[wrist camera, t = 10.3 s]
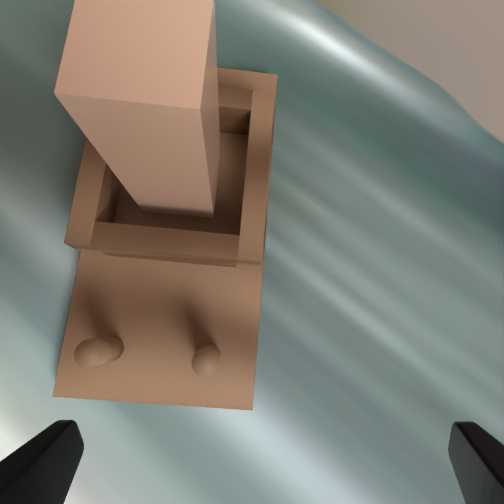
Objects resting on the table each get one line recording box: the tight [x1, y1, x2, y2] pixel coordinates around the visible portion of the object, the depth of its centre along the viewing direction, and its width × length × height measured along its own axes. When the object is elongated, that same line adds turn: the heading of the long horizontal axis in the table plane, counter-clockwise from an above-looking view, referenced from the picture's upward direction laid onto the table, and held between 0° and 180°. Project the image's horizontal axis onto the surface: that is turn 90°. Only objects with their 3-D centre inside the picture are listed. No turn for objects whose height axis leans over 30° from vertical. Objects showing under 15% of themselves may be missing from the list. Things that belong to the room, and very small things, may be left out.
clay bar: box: [54, 0, 221, 218], centre depth 15 cm, size 4×4×10 cm
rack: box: [52, 67, 277, 410], centre depth 18 cm, size 20×10×4 cm, turn 175°
